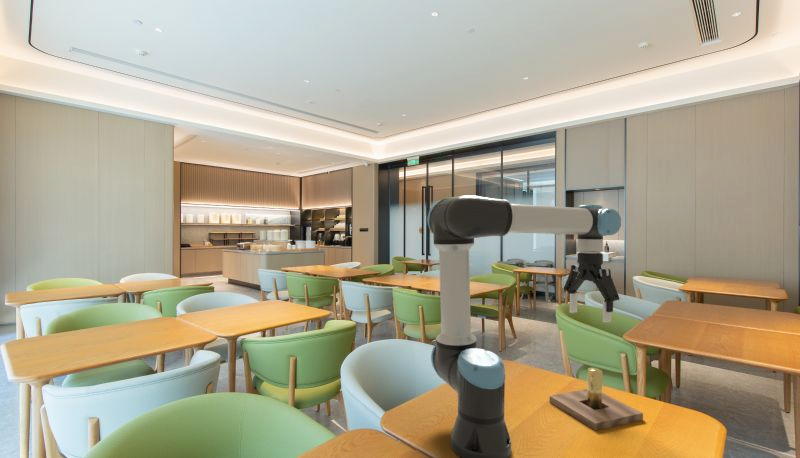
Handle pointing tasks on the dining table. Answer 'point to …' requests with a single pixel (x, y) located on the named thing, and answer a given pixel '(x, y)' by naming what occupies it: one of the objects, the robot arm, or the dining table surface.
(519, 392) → the dining table surface
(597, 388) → the pin
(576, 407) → the board
